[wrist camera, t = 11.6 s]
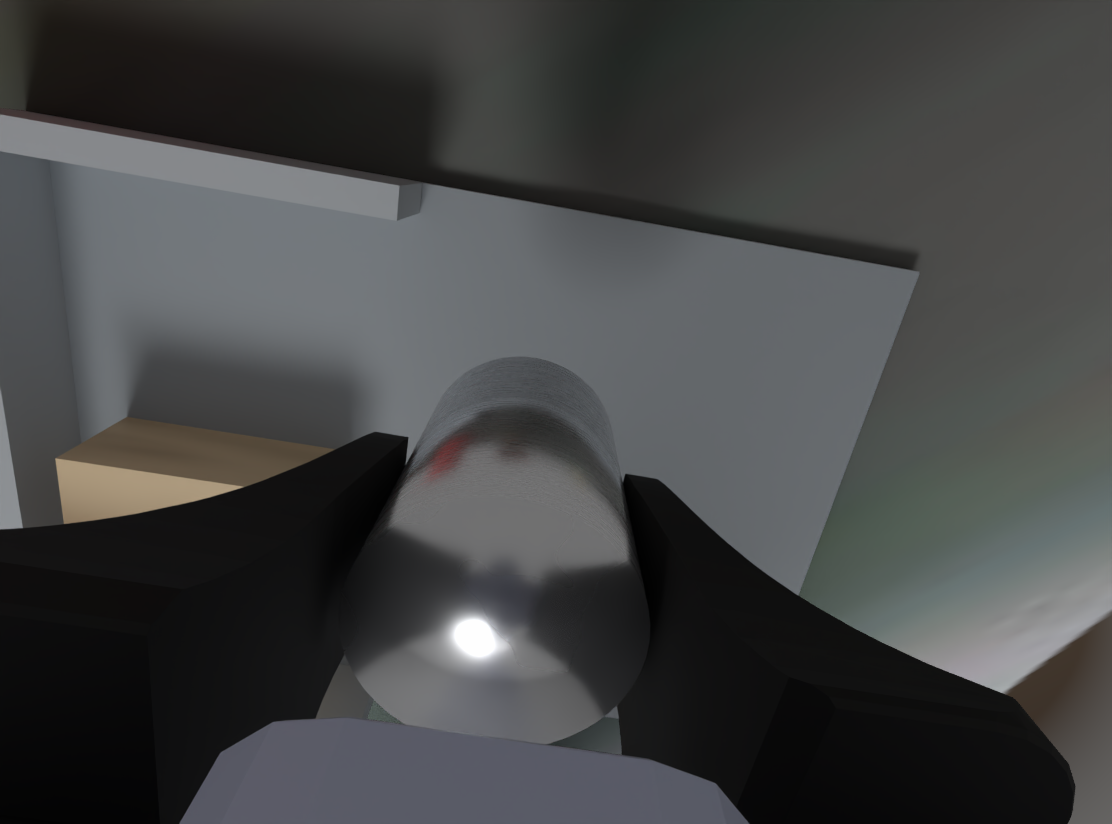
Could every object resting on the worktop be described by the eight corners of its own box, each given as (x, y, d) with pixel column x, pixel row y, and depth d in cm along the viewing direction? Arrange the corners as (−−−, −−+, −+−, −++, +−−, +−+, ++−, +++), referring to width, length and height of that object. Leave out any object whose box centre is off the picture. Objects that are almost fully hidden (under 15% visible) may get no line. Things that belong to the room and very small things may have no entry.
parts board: (742, 727, 25) (765, 798, 22) (89, 638, 23) (26, 703, 21) (912, 270, 18) (976, 288, 16) (23, 110, 17) (-82, 100, 14)
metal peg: (592, 537, 15) (613, 767, 9) (420, 510, 14) (330, 728, 9) (630, 374, 13) (684, 525, 8) (440, 341, 13) (348, 470, 7)
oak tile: (341, 626, 23) (310, 691, 20) (142, 598, 22) (82, 660, 19) (351, 451, 20) (317, 497, 17) (126, 416, 20) (55, 458, 17)
